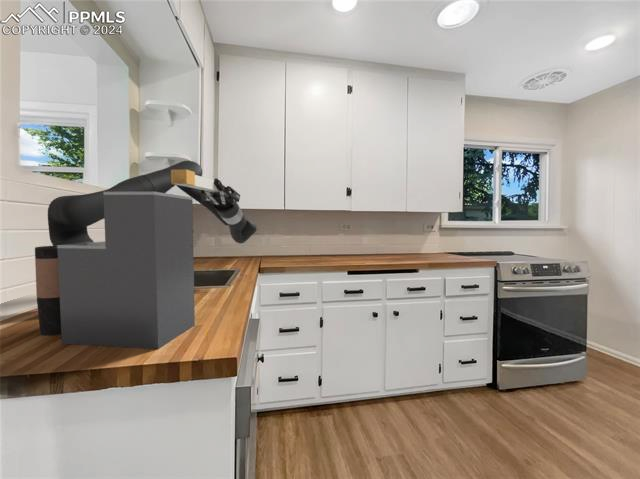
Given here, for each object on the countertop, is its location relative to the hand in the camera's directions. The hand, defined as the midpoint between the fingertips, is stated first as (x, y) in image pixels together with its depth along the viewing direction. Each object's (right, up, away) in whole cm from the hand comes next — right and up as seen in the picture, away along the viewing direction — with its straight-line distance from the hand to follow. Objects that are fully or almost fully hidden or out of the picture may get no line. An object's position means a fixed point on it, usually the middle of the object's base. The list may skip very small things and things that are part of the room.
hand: (209, 180), depth 91 cm
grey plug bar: (-1, -3, -5) cm, 6 cm away
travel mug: (-28, -40, -21) cm, 53 cm away
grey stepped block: (-9, -40, -23) cm, 47 cm away
